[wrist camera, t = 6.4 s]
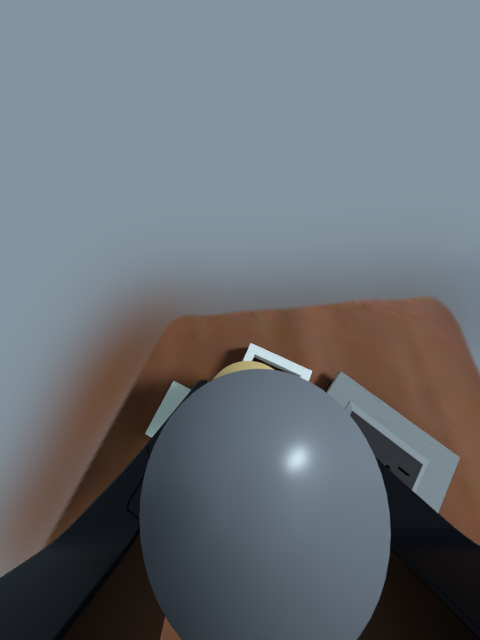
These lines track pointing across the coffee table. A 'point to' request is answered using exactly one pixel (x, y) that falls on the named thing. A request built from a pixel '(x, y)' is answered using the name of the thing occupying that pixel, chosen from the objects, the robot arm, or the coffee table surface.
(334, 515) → the grey tapered rounded cylinder
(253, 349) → the frame
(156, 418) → the rubber pad
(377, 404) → the electrical outlet
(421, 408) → the coffee table surface
